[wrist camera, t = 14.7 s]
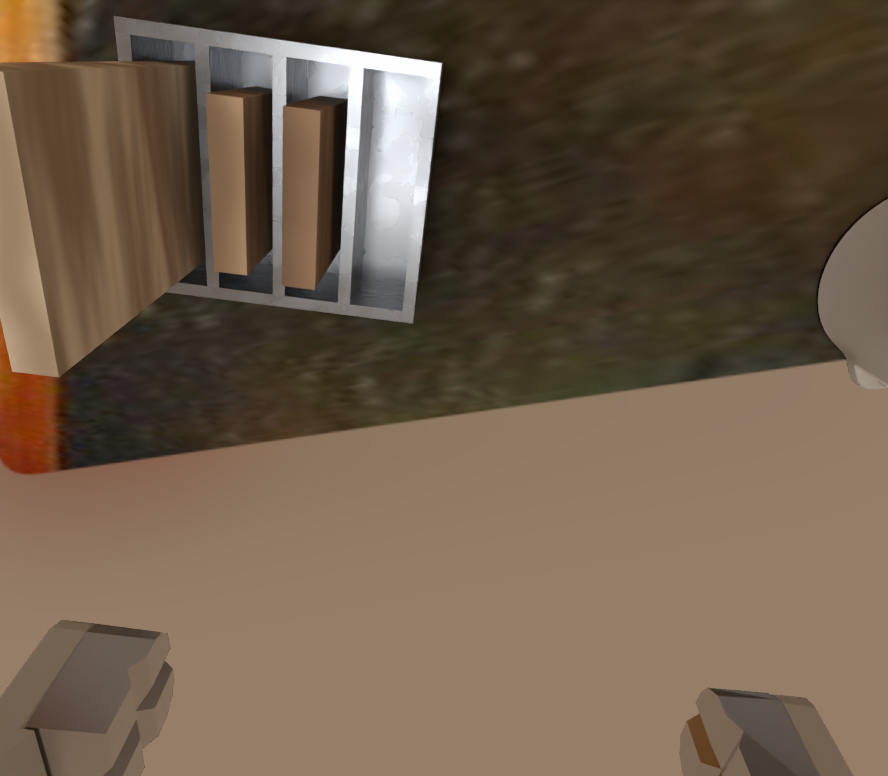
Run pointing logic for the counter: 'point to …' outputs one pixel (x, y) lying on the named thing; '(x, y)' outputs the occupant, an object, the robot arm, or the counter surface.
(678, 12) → the counter surface
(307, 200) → the walnut offcut
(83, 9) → the counter surface
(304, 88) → the rack
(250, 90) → the oak offcut
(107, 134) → the birch sheet
